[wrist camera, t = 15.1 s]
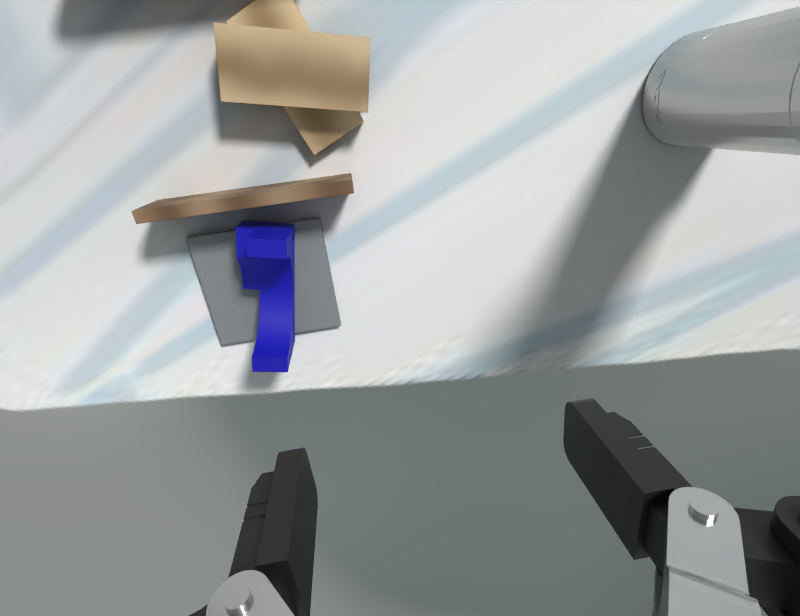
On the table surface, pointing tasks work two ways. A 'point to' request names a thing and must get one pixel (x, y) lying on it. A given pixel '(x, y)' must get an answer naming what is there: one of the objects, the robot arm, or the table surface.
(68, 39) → the table surface
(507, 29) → the table surface
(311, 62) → the upper offcut
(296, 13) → the lower offcut
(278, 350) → the blue curved piece
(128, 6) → the table surface
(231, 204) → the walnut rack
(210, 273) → the rubber mat
